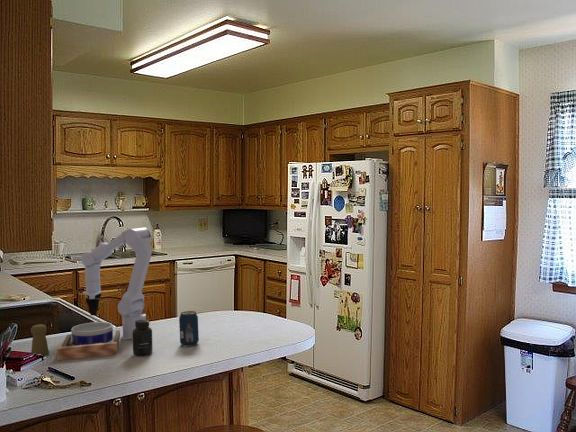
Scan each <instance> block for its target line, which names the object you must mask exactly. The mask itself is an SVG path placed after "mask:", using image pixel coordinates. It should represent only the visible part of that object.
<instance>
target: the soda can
mask: <svg viewBox="0 0 576 432" xmlns="http://www.w3.org/2000/svg"><path fill="white" fill-rule="evenodd" d="M178 322H179V324H178V325H179V343H180V344H181V345H182V346H183V347H194V346H196V345H197V344H199V343H198V342H199V340H200V338H199V316H198V314H197V312H196V311H194V310H190V311H189V310H187V311H182V312H180V316H179V321H178Z"/></svg>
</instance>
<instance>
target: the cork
mask: <svg viewBox="0 0 576 432" xmlns="http://www.w3.org/2000/svg"><path fill="white" fill-rule="evenodd" d="M47 329H48V327H47V325H45V324H44V323H43V324H41V323H40V324H36V325H32V327H31V328H30V332H31V335H32V339H31V351H30V354H31V353H36V354H41V355H47V356H49V355H50V351H49V345H48V341H47V335H46V333H47V331H48V330H47Z"/></svg>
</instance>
